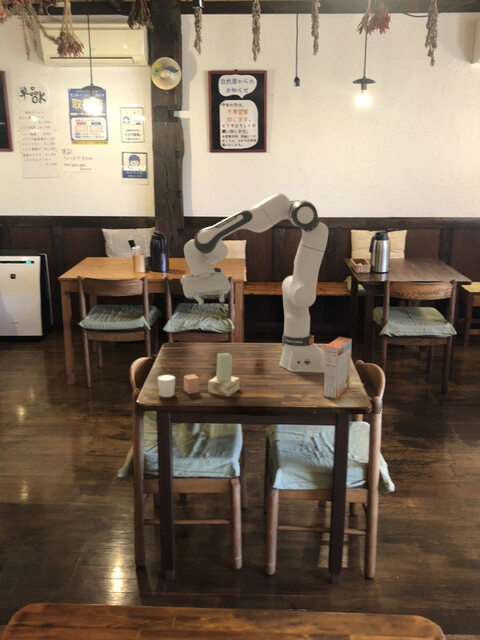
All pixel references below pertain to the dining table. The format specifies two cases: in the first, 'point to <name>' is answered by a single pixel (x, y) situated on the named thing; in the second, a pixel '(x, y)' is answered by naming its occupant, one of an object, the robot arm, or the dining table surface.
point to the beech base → (223, 386)
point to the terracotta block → (191, 383)
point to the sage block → (224, 367)
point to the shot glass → (166, 385)
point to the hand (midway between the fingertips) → (212, 302)
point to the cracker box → (337, 367)
